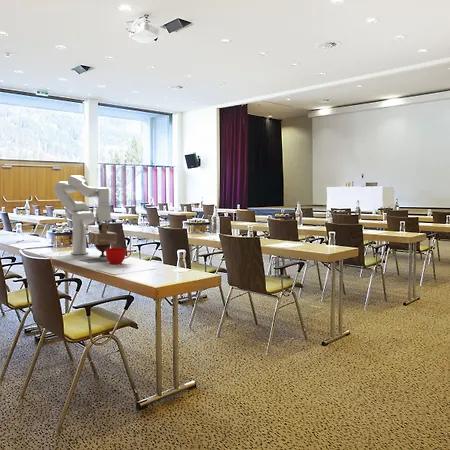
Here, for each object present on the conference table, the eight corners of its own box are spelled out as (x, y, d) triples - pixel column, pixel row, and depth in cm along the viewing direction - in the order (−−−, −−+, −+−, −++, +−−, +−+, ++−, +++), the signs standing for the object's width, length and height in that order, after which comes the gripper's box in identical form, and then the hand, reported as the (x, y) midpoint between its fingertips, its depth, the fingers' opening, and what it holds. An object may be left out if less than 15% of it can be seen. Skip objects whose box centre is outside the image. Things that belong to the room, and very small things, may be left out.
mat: (77, 260, 321) (77, 259, 321) (99, 258, 333) (99, 257, 333) (89, 263, 309) (89, 263, 309) (112, 261, 320) (112, 261, 320)
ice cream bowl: (106, 258, 334) (106, 237, 333) (92, 257, 336) (92, 236, 335) (112, 256, 344) (113, 236, 343) (98, 255, 347) (99, 235, 346)
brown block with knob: (88, 242, 340) (89, 222, 339) (106, 241, 350) (107, 222, 349) (98, 244, 329) (99, 224, 328) (117, 243, 339) (117, 223, 338)
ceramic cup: (133, 264, 311) (134, 249, 310) (108, 266, 303) (108, 250, 302) (127, 261, 322) (128, 247, 321) (103, 263, 314) (103, 248, 313)
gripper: (111, 204, 346) (110, 229, 347) (90, 204, 334) (89, 230, 336) (116, 205, 341) (115, 230, 342) (95, 205, 329) (95, 230, 330)
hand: (103, 229), depth 339 cm, fingers closed on brown block with knob, 4 cm apart
